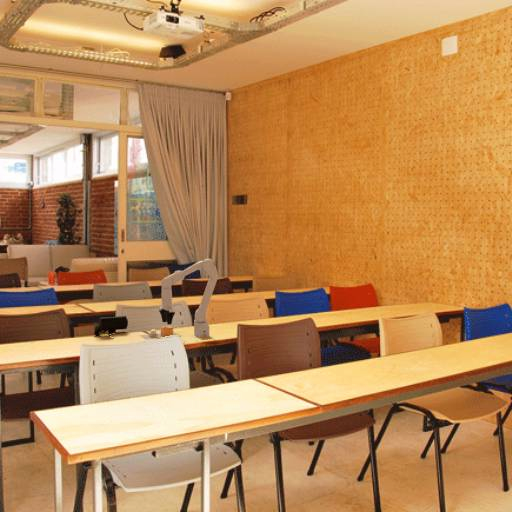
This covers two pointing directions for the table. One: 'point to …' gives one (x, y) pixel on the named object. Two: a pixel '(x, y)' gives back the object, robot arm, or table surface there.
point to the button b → (153, 331)
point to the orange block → (166, 330)
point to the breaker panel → (154, 336)
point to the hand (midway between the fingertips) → (167, 323)
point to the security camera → (111, 324)
